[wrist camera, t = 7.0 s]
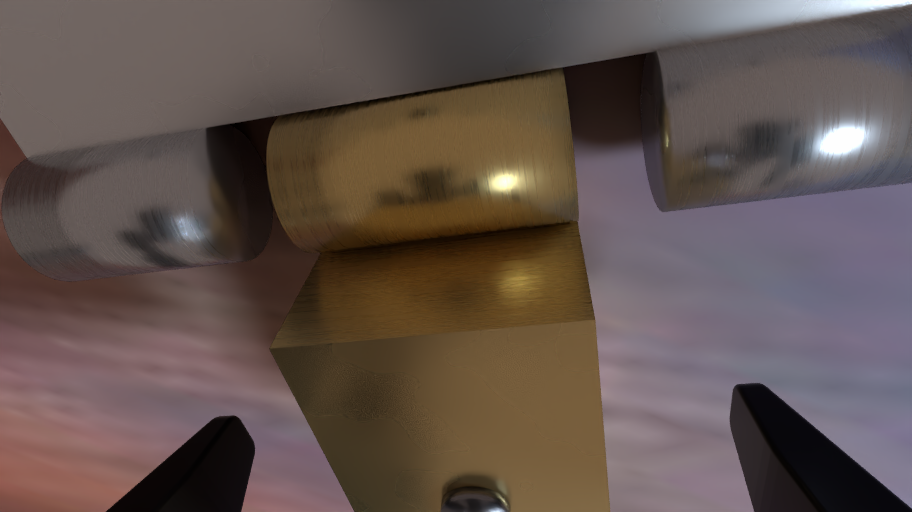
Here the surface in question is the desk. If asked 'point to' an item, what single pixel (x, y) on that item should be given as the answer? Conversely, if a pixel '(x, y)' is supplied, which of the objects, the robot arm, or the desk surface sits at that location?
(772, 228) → the desk surface
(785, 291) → the desk surface
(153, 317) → the desk surface
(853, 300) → the desk surface
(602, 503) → the brass leaf
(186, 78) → the steel leaf
